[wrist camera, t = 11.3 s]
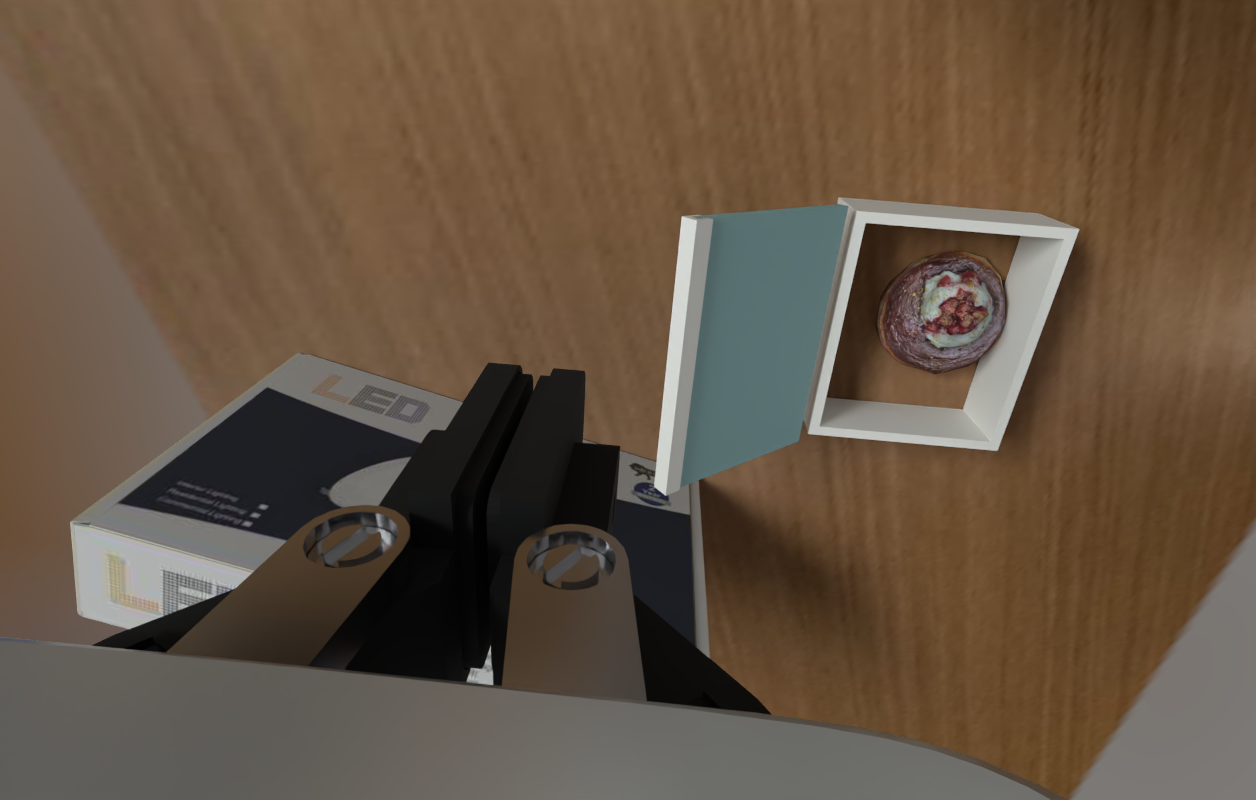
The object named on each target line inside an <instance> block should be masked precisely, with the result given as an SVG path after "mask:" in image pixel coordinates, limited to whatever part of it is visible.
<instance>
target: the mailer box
mask: <svg viewBox="0 0 1256 800" xmlns="http://www.w3.org/2000/svg"><path fill="white" fill-rule="evenodd" d="M837 204H841V205H846V206H849V207H848V211H847V216H846V221H845V226H844V230H843V235H842V240H841V244H840V249H839V254H838V258H837V263H836V268H835V273H834V277H833V282H832V287H831V291H830V296H829V301H828V306H827V310H826V315H825V320H824V324H823V329H822V334H821V339H820V343H819V348H818V353H817V357H816V362H815V367H814V372H813V376H812V381H811V386H810V390H809V395H808V400H807V404H806V409H805V414H804V419H803V421H804V424H805V426H806V429H807V432H808V434H814V435H825V436H837V437H848V438H859V439H870V440H881V441H892V442H904V443H915V444H926V445H937V446H948V447H960V448H971V449H982V450H993V451H998V448H999V445H1000V443H1001V440H1002V437H1003V435H1004V432H1005V429H1006V426H1007V424H1008V421H1009V418H1010V416H1011V413H1012V410H1013V408H1014V405H1015V402H1016V399H1017V397H1018V394H1019V391H1020V389H1021V386H1022V383H1023V381H1024V378H1025V375H1026V372H1027V370H1028V367H1029V364H1030V362H1031V359H1032V356H1033V353H1034V351H1035V348H1036V345H1037V343H1038V340H1039V337H1040V335H1041V332H1042V329H1043V326H1044V324H1045V321H1046V318H1047V316H1048V313H1049V310H1050V308H1051V305H1052V302H1053V299H1054V297H1055V294H1056V291H1057V289H1058V286H1059V283H1060V280H1061V278H1062V275H1063V272H1064V270H1065V267H1066V264H1067V262H1068V259H1069V256H1070V253H1071V251H1072V248H1073V245H1074V243H1075V240H1076V237H1077V235H1078V232H1079V229H1078V228H1075V227H1073V226H1070V225H1068V224H1065V223H1062V222H1060V221H1057V220H1054V219H1052V218H1049V217H1047V216H1044V215H1041V214H1039V213H1028V212H1015V211H1003V210H990V209H978V208H966V207H953V206H941V205H929V204H916V203H904V202H891V201H879V200H867V199H854V198H842V197H839V198H838V203H837ZM866 223H872V224H884V225H896V226H908V227H921V228H933V229H945V230H957V231H970V232H982V233H994V234H1006V235H1019V236H1020V239H1019V242H1018V245H1017V248H1016V251H1015V254H1014V257H1013V260H1012V263H1011V266H1010V269H1009V272H1008V275H1007V278H1006V281H1005V284H1004V287H1003V292H1004V298H1005V323H1004V325H1003V328H1002V330H1001V332H1000V334H999V336H998V339H997V341H996V342H995V344H994V345H993V346H992V347H991V349H990V350H989V351H988V352H987V353H986V354H985V355H983V356H982V357H981V358H980V360H979V363H978V366H977V369H976V372H975V375H974V378H973V381H972V384H971V387H970V390H969V393H968V396H967V399H966V402H965V405H964V408H963V409H951V408H940V407H928V406H917V405H906V404H894V403H883V402H872V401H860V400H849V399H838V398H826V396H827V392H828V387H829V383H830V379H831V374H832V370H833V365H834V361H835V356H836V352H837V348H838V343H839V339H840V334H841V330H842V325H843V321H844V317H845V312H846V308H847V303H848V299H849V295H850V290H851V286H852V281H853V277H854V272H855V268H856V264H857V259H858V255H859V250H860V246H861V241H862V237H863V233H864V228H865V224H866Z"/></svg>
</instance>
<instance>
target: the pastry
mask: <svg viewBox="0 0 1256 800" xmlns="http://www.w3.org/2000/svg"><path fill="white" fill-rule="evenodd" d="M1004 323H1005V298H1004V292H1003V286H1002V280H1001V276H1000V275H999V274H998V273H997V271H996V270H995V269H994V268H993V267H992V265H991V264H990V263H989V262H988V261H987V260H986V258H984V257H981V256H977V255H974V254H970V253H967V252H961V251H959V252H944V253H940V254H936V255H931V256H927V257H924V258H921V259H919V260H917V261H915V262H913V263H911V264H910V265H909V266H907V267H906V268H905V269H904V270H903V271H902V272H901V273H900V274H899V275H897V276H896V277H895V278H894V279H893V280H892V281H891V282H890V283H889V284H888V286H887V287H886V289H885V291H884V292H883V294H882V296H881V299H880V304H879V310H878V315H877V321H876V330H877V333H878V336H879V340H880V343H881V345H882V346H883V347H884V348H885V349H886V351H887V352H888V353H889V354H890V355H891V356H892V357H893V358H894V359H895V360H897V361H898V362H900V363H901V364H905V365H908V366H912V367H915V368H918V369H921V370H924V371H927V372H930V373H933V374H938V373H942V372H946V371H950V370H955V369H959V368H963V367H967V366H970V365H971V364H972V363H974V362H975V361H977V360H978V359H979V358H981V357H982V356H983V355H985V354H986V353H987V352H988V351H989V350H990V349H991V347H992V346H993V345H994V344H995V342H996V341H997V339H998V336H999V334H1000V332H1001V330H1002V328H1003V325H1004Z"/></svg>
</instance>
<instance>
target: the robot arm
mask: <svg viewBox="0 0 1256 800" xmlns="http://www.w3.org/2000/svg"><path fill="white" fill-rule="evenodd" d="M584 401H585V371H578V370H566V369H555V368H554V369H553V370H552V373H551V375H550V376H542V375H541V376H540V378H539V380H538V382H537V384H536V387H535V389H534V391H533V377H532V375H530V374H523V373H522V368H521V366H520V365H509V364H498V363H488V364H487V366H486V367H485V369H484V370H483V372H482V373H481V375H480V377H479V378H478V380H477V381H476V383H475V384H474V386H473V388H472V389H471V391H470V392H469V394H468V395H467V397H466V398H465V400H464V402H463V403H462V405H461V406H460V408H459V409H458V411H457V413H456V414H455V416H454V417H453V419H452V420H451V422H450V424H449V425H448V427H447V428H446V430H436V429H434V430H431V431H430V432H429V433H428V434H427V435H426V436H425V438H424V439H423V441H422V442H421V444H420V445H419V447H418V448H417V450H416V451H415V452H414V454H413V455H412V457H411V458H410V460H409V461H408V463H407V464H406V466H405V467H404V469H403V470H402V472H401V473H400V474H399V476H398V477H397V479H396V480H395V482H394V483H393V485H392V486H391V488H390V489H389V491H388V492H387V494H386V495H385V496H384V498H383V499H382V501H381V502H380V504H379V505H378V506H373V505H359V506H348V507H344V508H340V509H336V510H332V511H329V512H327V513H325V514H323V515H321V516H318V517H316V518H314V519H313V520H311V521H310V522H308V523H307V524H306V525H304V526H303V527H302V528H300V529H299V530H298V531H297V532H296V533H295V534H294V535H293V536H292V537H291V538H290V539H288V540H287V541H286V542H285V543H284V544H283V545H282V546H281V547H280V548H279V549H278V550H277V551H275V552H274V553H273V554H272V555H271V556H270V557H269V558H268V559H267V560H266V561H265V562H264V563H262V564H261V565H260V566H259V567H258V568H257V569H256V570H255V571H254V572H253V573H252V574H251V575H249V576H248V577H247V578H246V579H245V580H244V581H243V582H242V583H241V584H240V585H239V586H238V587H236V588H235V589H233V590H230V591H228V592H225V593H222V594H220V595H217V596H215V597H212V598H209V599H207V600H204V601H202V602H199V603H196V604H194V605H191V606H188V607H186V608H183V609H181V610H178V611H175V612H173V613H170V614H168V615H165V616H162V617H160V618H157V619H155V620H152V621H149V622H147V623H144V624H141V625H139V626H136V627H134V628H131V629H128V630H126V631H123V632H121V633H118V634H115V635H113V636H111V637H109V638H107V639H104V640H102V641H101V642H98V643H96V644H94V645H92V646H89V645H78V644H67V643H56V642H46V641H35V640H25V639H13V638H3V637H0V800H1067V799H1066V798H1064V797H1062V796H1060V795H1058V794H1056V793H1054V792H1052V791H1050V790H1048V789H1047V788H1045V787H1043V786H1041V785H1039V784H1037V783H1034V782H1032V781H1030V780H1027V779H1025V778H1023V777H1020V776H1018V775H1016V774H1013V773H1011V772H1009V771H1006V770H1004V769H1002V768H999V767H997V766H995V765H992V764H990V763H988V762H985V761H983V760H981V759H978V758H976V757H972V756H969V755H966V754H963V753H959V752H956V751H953V750H950V749H947V748H943V747H940V746H937V745H934V744H930V743H927V742H924V741H921V740H917V739H913V738H908V737H903V736H899V735H894V734H889V733H885V732H880V731H875V730H871V729H866V728H862V727H855V726H847V725H840V724H833V723H825V722H818V721H811V720H804V719H797V718H790V717H783V716H776V715H771V713H770V712H769V711H768V710H767V709H766V708H765V707H764V706H763V705H762V704H761V702H760V701H759V700H758V699H757V698H756V697H754V696H753V695H752V694H751V693H750V692H749V691H747V690H746V689H745V688H744V687H743V686H742V685H740V684H739V683H738V682H737V681H736V680H734V679H733V678H732V677H731V676H730V675H729V674H727V673H726V672H725V671H724V670H723V669H721V668H720V667H719V666H718V665H717V664H716V663H714V662H713V661H712V660H711V659H710V658H709V657H707V656H706V655H705V654H704V653H703V652H701V651H700V650H699V649H698V648H697V647H696V646H694V645H693V644H692V643H691V642H690V641H688V640H687V639H686V638H685V637H684V636H683V635H681V634H680V633H679V632H678V631H677V630H676V629H674V628H673V627H672V626H671V625H670V624H668V623H667V622H666V621H665V620H664V619H663V618H661V617H660V616H659V615H658V614H657V613H655V612H654V611H653V610H652V609H651V608H650V607H648V606H647V605H646V604H645V603H644V602H643V601H641V600H640V599H639V598H638V597H637V596H635V595H634V594H633V592H632V585H631V577H630V570H629V562H628V557H627V554H626V552H625V549H624V547H623V546H622V545H621V544H620V543H619V541H618V540H617V539H616V538H615V537H613V530H614V521H615V511H616V500H617V488H618V474H619V460H620V446H614V445H603V444H592V443H583V425H584ZM490 646H491V665H492V670H493V685H489V684H479V683H470V682H467V679H468V676H469V673H470V670H471V668H476V669H482V668H483V666H484V664H485V661H486V658H487V655H488V652H489V649H490Z"/></svg>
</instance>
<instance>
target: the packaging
mask: <svg viewBox="0 0 1256 800" xmlns="http://www.w3.org/2000/svg"><path fill="white" fill-rule="evenodd" d="M462 403H463V402H461V401H457V400H454V399H451V398H448V397H445V396H441V395H438V394H435V393H432V392H428V391H425V390H422V389H419V388H415V387H412V386H409V385H406V384H403V383H399V382H396V381H393V380H390V379H386V378H383V377H380V376H377V375H373V374H370V373H367V372H364V371H361V370H357V369H354V368H351V367H348V366H344V365H341V364H338V363H335V362H331V361H328V360H325V359H322V358H319V357H315V356H312V355H304V354H301V353H299V352H298V353H297V354H295V355H294V356H293V357H291V358H290V359H289V360H287V361H286V362H285V363H283V364H282V365H281V366H279V367H278V368H276V369H275V370H274V371H272V372H271V373H270V374H268V375H267V376H266V377H264V378H263V379H262V380H260V381H259V382H258V383H256V384H255V385H254V386H252V387H251V388H250V389H248V390H247V391H246V392H244V393H243V394H241V395H240V396H239V397H237V398H236V399H235V400H233V401H232V402H231V403H229V404H228V405H227V406H225V407H224V408H223V409H221V410H220V411H219V412H217V413H216V414H215V415H213V416H212V417H211V418H209V419H208V420H206V421H205V422H204V423H202V424H201V425H200V426H198V427H197V428H196V429H195V430H193V431H192V432H190V433H189V434H188V435H186V436H185V437H184V438H182V439H181V440H180V441H178V442H177V443H176V444H174V445H173V446H171V447H170V448H169V449H167V450H166V451H165V452H164V453H162V454H161V455H159V456H158V457H157V458H155V459H154V460H153V461H152V462H150V463H149V464H147V465H146V466H145V467H143V468H142V469H141V470H139V471H138V472H137V473H135V474H134V475H133V476H131V477H130V478H128V479H127V480H126V481H124V482H123V483H122V484H120V485H119V486H118V487H116V488H115V489H114V490H113V491H111V492H110V493H108V494H107V495H106V496H104V497H103V498H101V499H100V500H99V501H98V502H96V503H95V504H94V505H92V506H91V507H89V508H88V509H87V510H85V511H84V512H83V513H81V514H80V515H79V516H77V517H76V518H75V519H73V520H72V521H71V522H70V524H71V537H72V549H73V560H74V573H75V585H76V595H77V596H76V597H77V609H78V614H79V615H81V616H82V617H86V618H89V619H93V620H97V621H101V622H105V623H108V624H112V625H116V626H119V627H123V628H127V629H131V628H134V627H136V626H139V625H141V624H144V623H147V622H149V621H152V620H155V619H157V618H160V617H162V616H165V615H168V614H170V613H173V612H175V611H178V610H181V609H183V608H186V607H188V606H191V605H194V604H196V603H199V602H202V601H204V600H207V599H209V598H212V597H215V596H217V595H220V594H222V593H225V592H228V591H230V590H233V589H235V588H236V587H238V586H239V585H240V584H241V583H242V582H243V581H244V580H245V579H246V578H247V577H248V576H249V575H251V574H252V573H253V572H254V571H255V570H256V569H257V568H258V567H259V566H260V565H261V564H262V563H264V562H265V561H266V560H267V559H268V558H269V557H270V556H271V555H272V554H273V553H274V552H275V551H277V550H278V549H279V548H280V547H281V546H282V545H283V544H284V543H285V542H286V541H287V540H288V539H290V538H291V537H292V536H293V535H294V534H295V533H296V532H297V531H298V530H299V529H300V528H302V527H303V526H304V525H306V524H307V523H308V522H310V521H311V520H313V519H314V518H316V517H318V516H321V515H323V514H325V513H327V512H329V511H332V510H336V509H340V508H344V507H348V506H359V505H373V506H378V505H379V504H380V502H381V501H382V499H383V498H384V496H385V495H386V494H387V492H388V491H389V489H390V488H391V486H392V485H393V483H394V482H395V480H396V479H397V477H398V476H399V474H400V473H401V472H402V470H403V469H404V467H405V466H406V464H407V463H408V461H409V460H410V458H411V457H412V455H413V454H414V452H415V451H416V450H417V448H418V447H419V445H420V444H421V442H422V441H423V439H424V438H425V436H426V435H427V434H428V433H429V432H430V431H431V430H434V429H436V430H446V428H447V427H448V425H449V424H450V422H451V420H452V419H453V417H454V416H455V414H456V413H457V411H458V409H459V408H460V406H461V405H462ZM583 443H592V444H596V443H593V442H590V441H587V440H584V439H583ZM655 472H656V462H655V461H651V460H648V459H645V458H642V457H638V456H635V455H632V454H629V453H626V452H622V451H620V460H619V474H618V488H617V500H616V511H615V521H614V530H613V537H615V538H616V539H617V540H618V541H619V543H620V544H621V545H622V546H623V547H624V549H625V552H626V554H627V557H628V562H629V570H630V577H631V585H632V592H633V594H634V595H635V596H637V597H638V598H639V599H640V600H641V601H643V602H644V603H645V604H646V605H647V606H648V607H650V608H651V609H652V610H653V611H654V612H655V613H657V614H658V615H659V616H660V617H661V618H663V619H664V620H665V621H666V622H667V623H668V624H670V625H671V626H672V627H673V628H674V629H676V630H677V631H678V632H679V633H680V634H681V635H683V636H684V637H685V638H686V639H687V640H688V641H690V642H691V643H692V644H693V645H694V646H696V647H697V648H698V649H699V650H700V651H701V652H703V653H704V654H705V655H706V656H707V657H709V658H710V647H709V631H708V616H707V600H706V585H705V569H704V554H703V538H702V522H701V507H700V491H699V480H698V481H695V482H693V483H690V484H687V485H685V486H682V487H680V490H679V491H676V492H674V493H671V494H669V495H666V496H665V495H664V494H663V493H661V492H660V491H659V490H658V489H656V488H655V487H654V482H655ZM467 682H470V683H479V684H489V685H493V670H492V665H491V646H490V649H489V652H488V655H487V658H486V661H485V664H484V666H483V668H482V669H476V668H471V670H470V673H469V676H468V679H467Z"/></svg>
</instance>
